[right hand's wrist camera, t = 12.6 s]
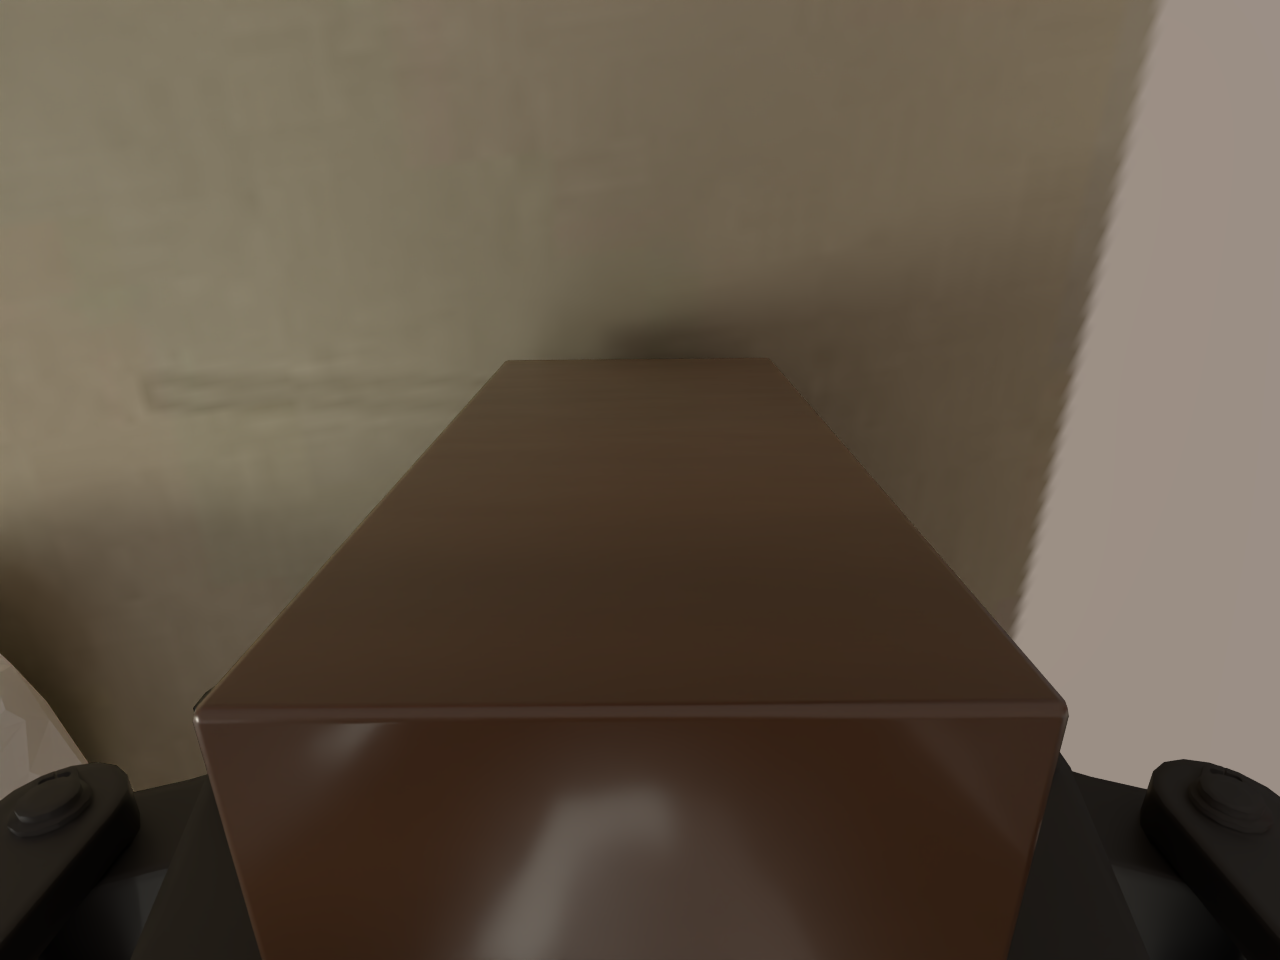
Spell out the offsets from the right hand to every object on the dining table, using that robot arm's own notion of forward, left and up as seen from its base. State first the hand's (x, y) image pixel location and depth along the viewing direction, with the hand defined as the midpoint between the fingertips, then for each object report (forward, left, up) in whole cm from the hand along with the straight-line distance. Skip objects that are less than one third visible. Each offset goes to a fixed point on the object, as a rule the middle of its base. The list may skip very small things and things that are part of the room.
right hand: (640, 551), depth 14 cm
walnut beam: (-11, -7, 0) cm, 13 cm away
